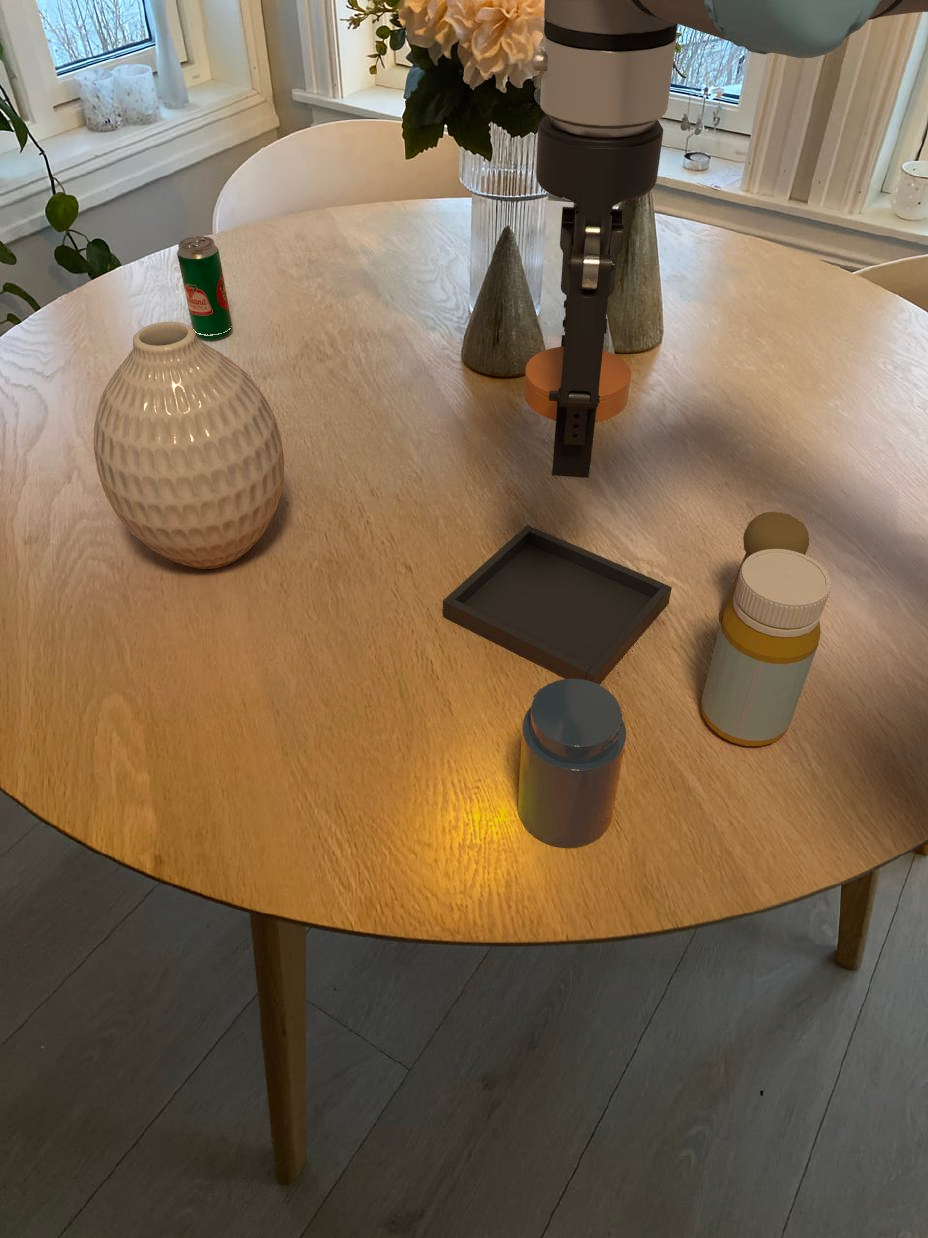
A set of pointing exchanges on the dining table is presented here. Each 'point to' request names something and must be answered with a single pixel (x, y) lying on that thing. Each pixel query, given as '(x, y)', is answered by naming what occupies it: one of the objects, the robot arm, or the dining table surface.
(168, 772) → the dining table surface
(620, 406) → the lid
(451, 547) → the dining table surface
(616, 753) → the jar
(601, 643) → the tray
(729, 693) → the bottle
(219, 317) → the soda can
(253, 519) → the vase
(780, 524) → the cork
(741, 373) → the dining table surface
